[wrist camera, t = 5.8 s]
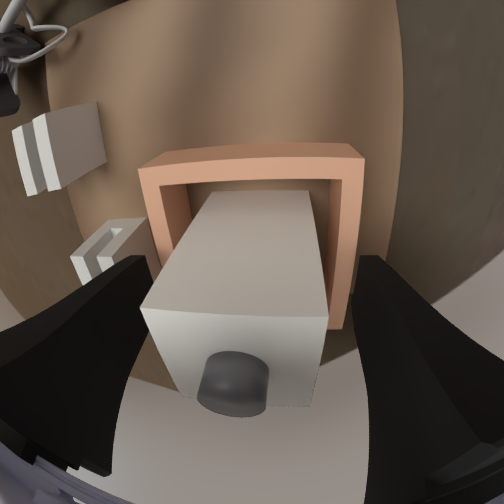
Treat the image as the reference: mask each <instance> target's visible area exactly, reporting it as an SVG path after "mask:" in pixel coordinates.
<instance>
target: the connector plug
mask: <svg viewBox="0 0 504 504" xmlns="http://www.w3.org/2000/svg"><path fill="white" fill-rule="evenodd" d="M140 310H141V312H142V314H143V317H144V319H145V322H146V324H147V326H148V328H149V331H150V333H151V335H152V337H153V340H154V342H155V344H156V346H157V348H158V350H159V353H160V355H161V357H162V359H163V361H164V363H165V365H166V367H167V369H168V371H169V373H170V375H171V377H172V379H173V381H174V383H175V385H176V386H177V388H178V390H179V392H180V394H181V396H183V397H188V398H195V399H198V401H199V403H200V404H201V405H203V406H204V407H205V408H207V409H209V410H211V411H213V412H215V413H218V414H222V415H226V416H231V417H252V416H256V415H259V414H261V413H262V412H263V411H264V410H265V409H266V406H293V407H295V406H298V407H307V406H310V404H311V399H312V396H313V391H314V387H315V383H316V378H317V374H318V370H319V365H320V360H321V356H322V351H323V346H324V341H325V335H326V330H327V324H328V319H329V314H328V306H327V299H326V291H325V284H324V277H323V270H322V264H321V257H320V251H319V245H318V239H317V233H316V227H315V222H314V216H313V211H312V206H311V201H310V196H309V191H304V190H260V191H219V192H212V193H211V194H210V196H209V197H208V198H207V200H206V201H205V203H204V204H203V206H202V207H201V209H200V210H199V212H198V213H197V215H196V216H195V218H194V219H193V221H192V223H191V224H190V226H189V227H188V229H187V230H186V232H185V233H184V235H183V236H182V238H181V240H180V241H179V243H178V244H177V246H176V248H175V249H174V251H173V252H172V254H171V256H170V257H169V259H168V260H167V262H166V264H165V265H164V267H163V269H162V270H161V272H160V274H159V275H158V277H157V279H156V280H155V282H154V284H153V285H152V287H151V289H150V291H149V292H148V294H147V296H146V297H145V299H144V301H143V303H142V304H141V306H140Z"/></svg>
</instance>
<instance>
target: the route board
mask: <svg viewBox="0 0 504 504" xmlns="http://www.w3.org/2000/svg"><path fill="white" fill-rule="evenodd" d="M69 32H70V33H69V35H68V37H67V38H66V39H65V40H64V41H63V42H62V43H60V44H59V45H58V46H56V47H55V48H53V49H52V50H50V51H49V52H47V53H45V61H46V76H47V87H48V96H49V104H50V111H51V112H52V111H55V110H59V109H63V108H67V107H71V106H76V105H80V104H85V103H90V102H95V101H97V108H98V114H99V121H100V127H101V132H102V138H103V143H104V148H105V153H106V158H107V162H106V163H104V164H102V165H100V166H99V167H97V168H95V169H93V170H91V171H90V172H88V173H86V174H84V175H83V176H81V177H79V178H78V179H76V180H74V181H73V182H71V183H69V184H68V185H66V186H67V190H68V193H69V197H70V200H71V203H72V207H73V210H74V213H75V216H76V219H77V222H78V225H79V228H80V231H81V234H82V237H83V239H84V242H85V241H86V240H87V239H88V238H89V237H90V236H91V235H92V234H93V233H94V232H95V231H97V230H98V229H99V228H100V227H101V226H102V225H103V224H104V223H105V222H106V221H107V220H114V219H128V218H144V217H147V220H148V224H149V228H150V232H151V235H152V239H153V243H154V246H155V250H156V254H157V257H158V260H159V264H160V267H161V270H162V269H163V268H162V265H161V262H160V258H159V255H158V251H157V248H156V244H155V240H154V236H153V233H152V229H151V225H150V221H149V217H148V213H147V209H146V205H145V200H144V196H143V192H142V187H141V183H140V178H139V173H138V168H140V167H141V166H143V165H145V164H146V163H148V162H149V161H151V160H153V159H154V158H156V157H158V156H159V155H161V154H163V153H164V152H168V151H176V150H184V149H193V148H202V147H213V146H225V145H239V144H258V143H346V144H349V145H350V146H352V147H353V148H354V149H355V150H356V151H357V152H358V153H359V154H360V155H361V156H362V157H364V158H365V164H364V180H363V193H362V204H361V214H360V223H359V232H358V240H357V247H356V255H355V261H354V268H353V274H352V280H351V286H350V292H349V294H353V292H354V287H355V282H356V276H357V270H358V264H359V258H360V255H378V256H379V257H381V258H382V259H383V260H384V261H386V256H387V251H388V246H389V241H390V235H391V230H392V224H393V218H394V211H395V205H396V197H397V189H398V181H399V172H400V161H401V148H402V130H403V67H402V51H401V39H400V29H399V21H398V14H397V7H396V1H395V0H129V1H126V2H124V3H121V4H119V5H117V6H114V7H112V8H109V9H107V10H105V11H103V12H101V13H98V14H96V15H94V16H92V17H90V18H88V19H86V20H84V21H82V22H80V23H78V24H76V25H75V26H73V27H71V28H69ZM64 33H65V31H64V32H62V33H60V34H59V35H57V36H55V37H54V38H52V39H51V40H49V41H47V42H46V43H45V47H46V46H48V45H50V44H51V43H53V42H54V41H56V40H57V39H59V38H60V37H61V36H62V35H63V34H64ZM186 187H187V193H188V199H189V205H190V210H191V216H192V221H193V219H194V218H195V216H196V215H197V213H198V212H199V210H200V209H201V207H202V206H203V204H204V203H205V201H206V200H207V198H208V197H209V196H210V194H211V193H212V192H219V191H260V190H304V191H309V196H310V201H311V206H312V211H313V216H314V222H315V227H316V233H317V239H318V245H319V251H320V257H321V264H322V270H323V277H324V274H325V263H326V251H327V238H328V222H329V202H330V179H257V180H232V181H214V182H199V183H186ZM161 270H160V272H161ZM160 272H159V273H158V275H159V274H160ZM158 275H157V277H158ZM157 277H156V278H155V280H156V279H157ZM155 280H154V282H155Z"/></svg>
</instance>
